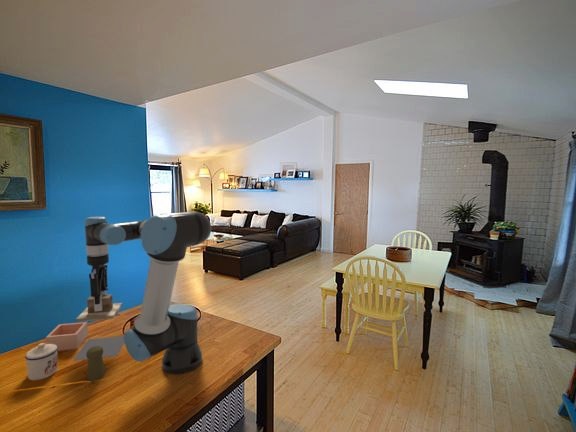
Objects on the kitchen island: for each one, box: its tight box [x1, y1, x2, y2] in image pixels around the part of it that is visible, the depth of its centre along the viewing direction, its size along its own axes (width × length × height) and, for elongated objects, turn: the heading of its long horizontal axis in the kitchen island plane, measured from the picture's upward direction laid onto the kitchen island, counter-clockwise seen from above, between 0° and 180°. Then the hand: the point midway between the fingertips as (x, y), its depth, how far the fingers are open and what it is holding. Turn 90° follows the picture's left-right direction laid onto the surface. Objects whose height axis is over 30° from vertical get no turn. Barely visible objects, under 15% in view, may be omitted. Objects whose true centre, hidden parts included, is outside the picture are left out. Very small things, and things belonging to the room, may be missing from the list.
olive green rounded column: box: [86, 346, 107, 382], centre depth 107 cm, size 6×6×11 cm
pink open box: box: [45, 321, 89, 352], centre depth 126 cm, size 11×11×7 cm
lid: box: [75, 293, 123, 323], centre depth 122 cm, size 13×13×7 cm
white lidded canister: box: [24, 342, 59, 381], centre depth 108 cm, size 12×9×12 cm
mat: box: [72, 335, 125, 362], centre depth 124 cm, size 16×16×1 cm
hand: (100, 308), depth 122 cm, fingers closed on lid, 4 cm apart
